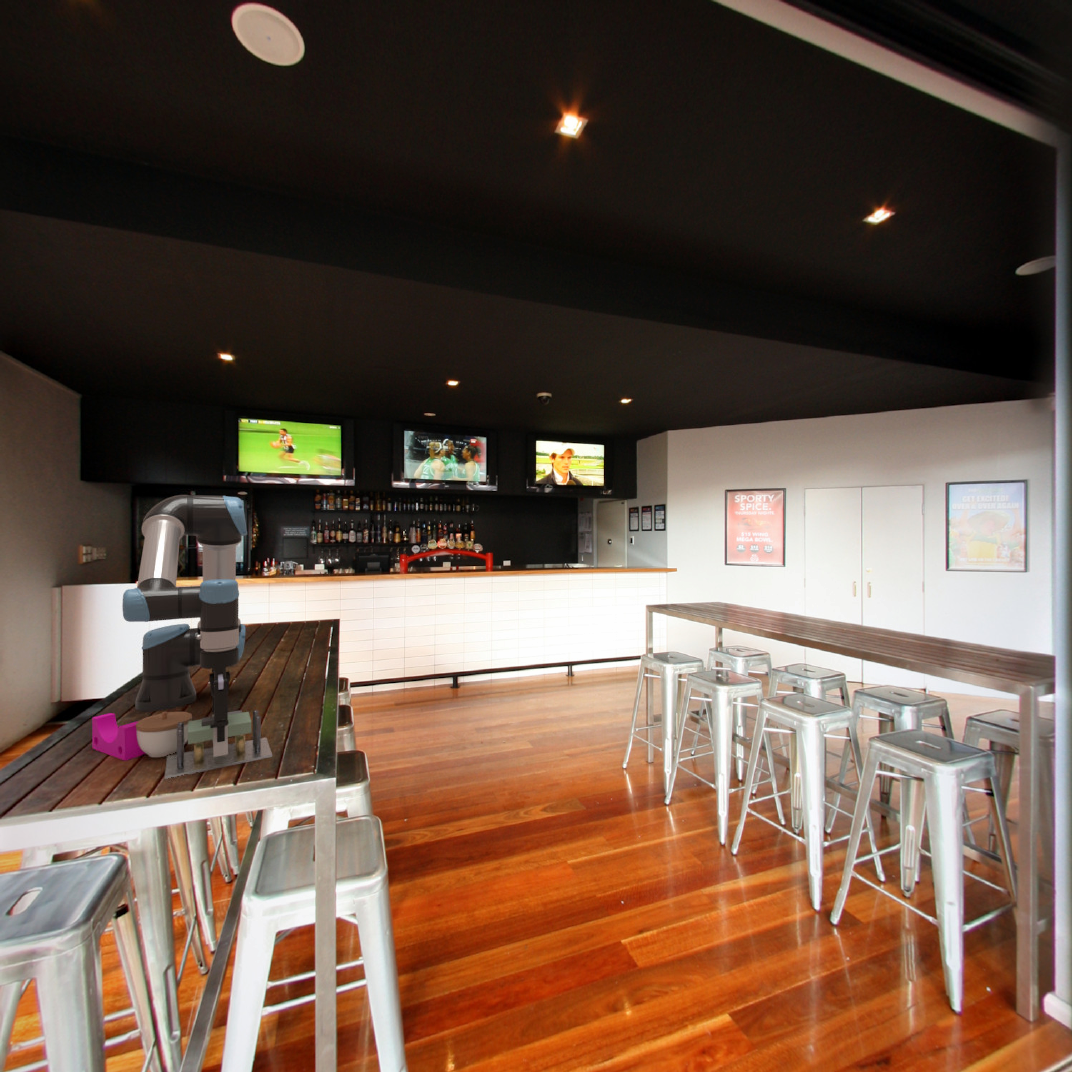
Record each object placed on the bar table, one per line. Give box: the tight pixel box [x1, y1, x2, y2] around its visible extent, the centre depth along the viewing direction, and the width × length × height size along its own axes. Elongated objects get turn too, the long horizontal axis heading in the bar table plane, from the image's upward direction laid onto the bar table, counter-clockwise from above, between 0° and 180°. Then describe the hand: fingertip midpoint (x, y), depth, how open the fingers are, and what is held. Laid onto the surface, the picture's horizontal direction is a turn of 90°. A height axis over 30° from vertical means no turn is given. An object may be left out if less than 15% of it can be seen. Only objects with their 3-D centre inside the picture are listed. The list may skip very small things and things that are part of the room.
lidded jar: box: [136, 711, 193, 758], centre depth 123 cm, size 11×11×9 cm
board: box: [187, 711, 252, 745], centre depth 119 cm, size 8×12×4 cm, turn 123°
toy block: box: [91, 712, 147, 761], centre depth 125 cm, size 15×6×8 cm, turn 62°
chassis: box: [164, 709, 273, 780], centre depth 119 cm, size 12×20×9 cm, turn 123°
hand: (219, 748), depth 119 cm, fingers closed on board, 8 cm apart
